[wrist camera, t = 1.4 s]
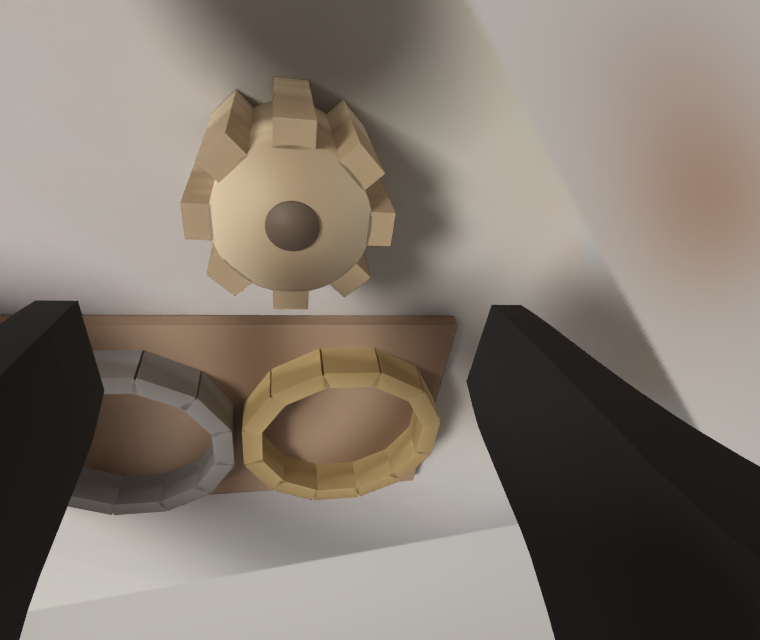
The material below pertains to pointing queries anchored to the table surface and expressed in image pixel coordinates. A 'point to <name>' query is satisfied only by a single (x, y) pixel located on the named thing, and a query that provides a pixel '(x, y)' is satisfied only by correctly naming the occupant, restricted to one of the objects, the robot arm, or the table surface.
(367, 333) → the gear board
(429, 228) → the table surface
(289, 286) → the gear
